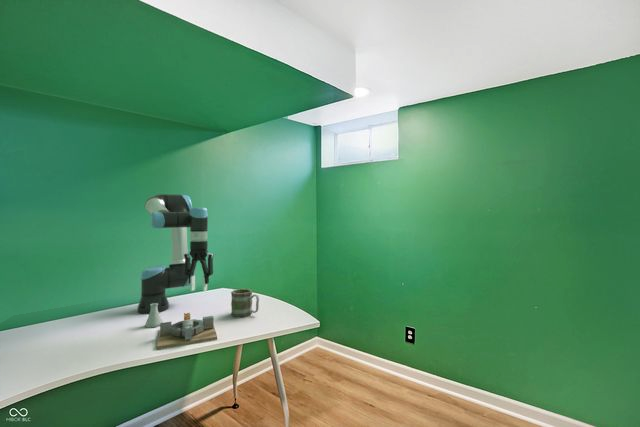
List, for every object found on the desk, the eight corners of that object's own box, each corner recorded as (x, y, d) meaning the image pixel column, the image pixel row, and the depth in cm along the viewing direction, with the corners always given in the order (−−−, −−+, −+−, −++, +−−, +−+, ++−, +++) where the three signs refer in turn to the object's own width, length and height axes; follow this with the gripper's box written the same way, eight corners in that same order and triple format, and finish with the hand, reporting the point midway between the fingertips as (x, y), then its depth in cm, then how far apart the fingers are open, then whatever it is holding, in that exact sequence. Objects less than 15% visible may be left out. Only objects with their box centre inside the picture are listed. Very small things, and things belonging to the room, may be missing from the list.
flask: (155, 328, 136) (155, 306, 136) (141, 327, 138) (141, 305, 138) (166, 323, 143) (166, 302, 143) (153, 322, 145) (153, 301, 145)
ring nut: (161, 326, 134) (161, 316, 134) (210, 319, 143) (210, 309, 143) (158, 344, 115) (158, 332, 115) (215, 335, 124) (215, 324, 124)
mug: (226, 316, 153) (226, 292, 153) (239, 310, 163) (239, 288, 163) (252, 320, 147) (252, 295, 147) (264, 313, 157) (264, 290, 157)
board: (160, 329, 134) (160, 317, 134) (211, 322, 144) (211, 310, 144) (157, 349, 115) (157, 334, 115) (217, 339, 124) (217, 325, 124)
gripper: (175, 241, 136) (175, 291, 136) (213, 241, 134) (213, 293, 134) (185, 239, 144) (184, 287, 144) (221, 240, 142) (221, 288, 141)
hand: (198, 290), depth 139 cm, fingers open, 5 cm apart
